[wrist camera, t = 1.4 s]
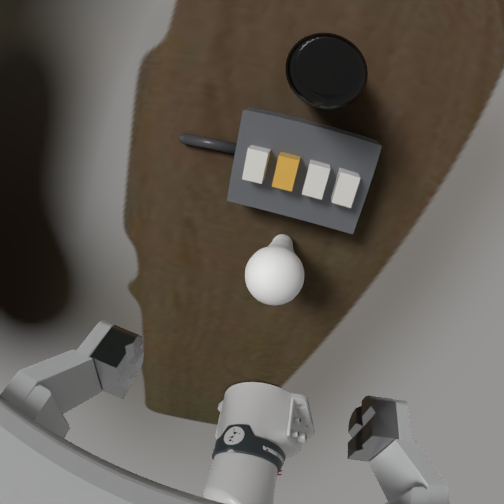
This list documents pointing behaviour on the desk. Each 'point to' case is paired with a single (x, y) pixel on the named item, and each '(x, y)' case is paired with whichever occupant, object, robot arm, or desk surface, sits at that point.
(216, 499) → the robot arm
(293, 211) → the breaker strip
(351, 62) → the supplement bottle
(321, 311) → the desk surface
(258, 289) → the lightbulb
